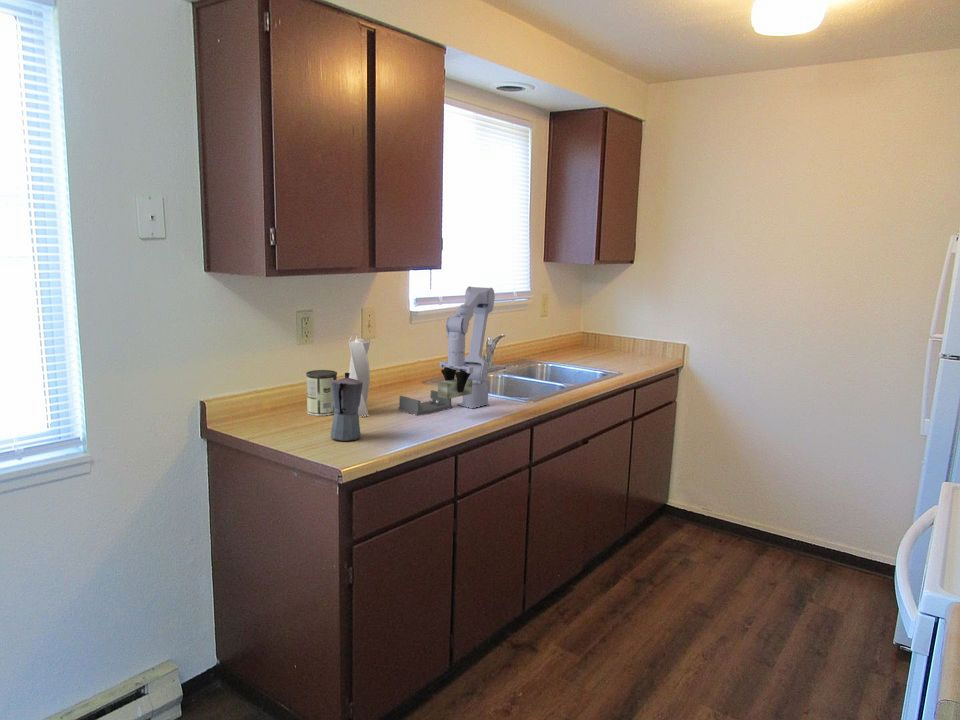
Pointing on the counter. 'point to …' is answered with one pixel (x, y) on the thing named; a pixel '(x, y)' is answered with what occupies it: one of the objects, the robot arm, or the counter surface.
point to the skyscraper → (360, 369)
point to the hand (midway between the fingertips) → (455, 390)
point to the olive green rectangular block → (453, 389)
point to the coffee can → (320, 392)
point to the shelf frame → (424, 404)
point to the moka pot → (346, 408)
